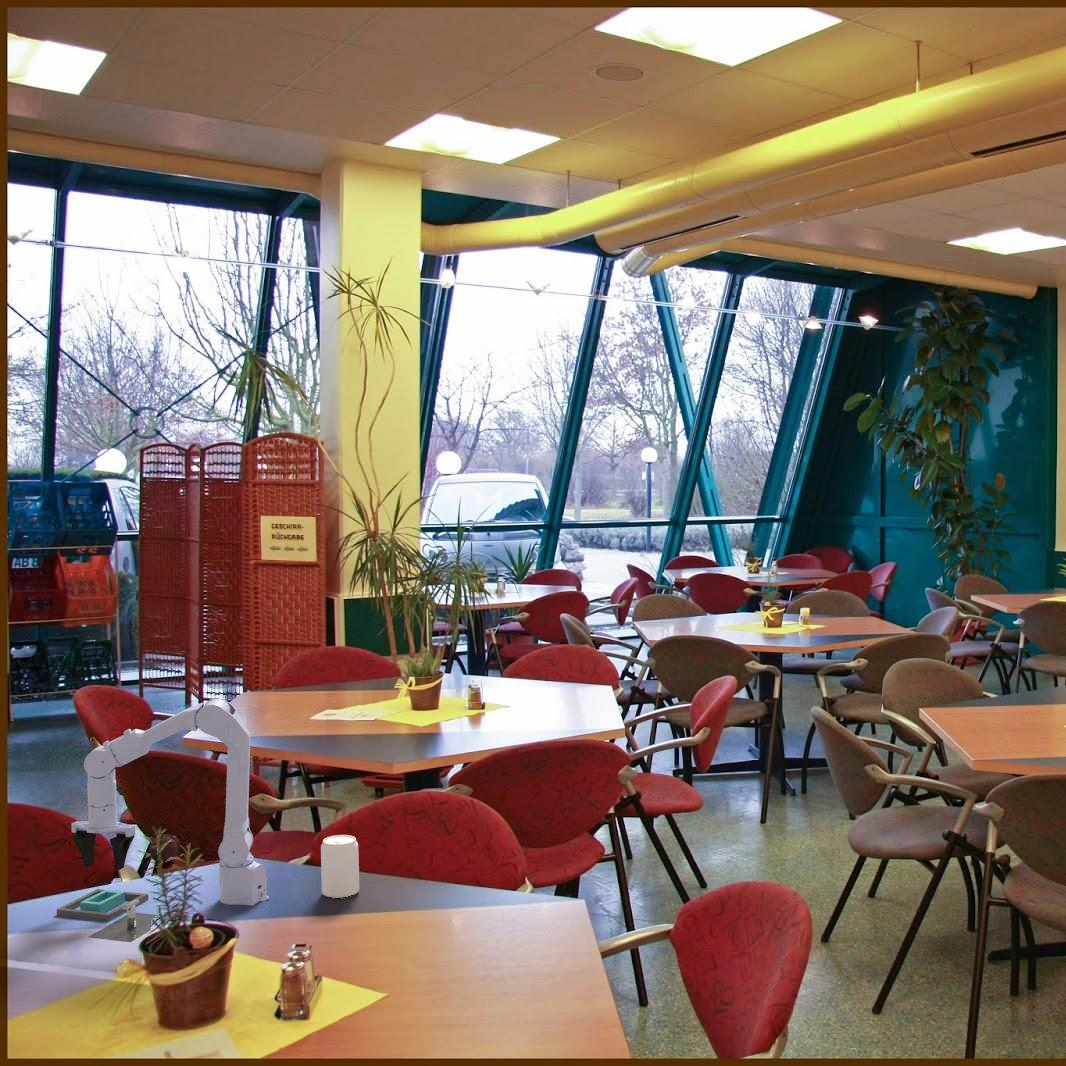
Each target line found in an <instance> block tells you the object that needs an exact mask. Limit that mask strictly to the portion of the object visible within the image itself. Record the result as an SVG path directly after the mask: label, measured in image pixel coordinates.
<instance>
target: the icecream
mask: <svg viewBox="0 0 1066 1066" xmlns="http://www.w3.org/2000/svg"><path fill="white" fill-rule="evenodd" d="M163 834H164V833H163ZM169 839H173V840H174V843H171V844H170V845H168V846H167V847H166V848H165V849H164V851H163V854H162V859H163V863H164V864H165V863H166V862H165V861H166V860H167V859H168V858H170V857H175V858H177V857H178V856H179V854H180V849H181V844H180V839H178V838H177V836H176V835H172V834H168V833H167V834H164V835H163V837H162V839H161V844H164V843H165V842H167V841H168V840H169ZM156 840H157V836H156V837H154V838H153V839H152V841H151V844H150V845H149V858H151V859H152V860H153V861H154V862H155V863H154V868H155V870H156V862H157V846H156Z"/></svg>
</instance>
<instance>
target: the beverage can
mask: <svg viewBox="0 0 1066 1066" xmlns="http://www.w3.org/2000/svg"><path fill="white" fill-rule="evenodd" d="M359 855H360V854H359V843H358V841H357V838H356V837H355V836H353V835H349V834H336V835H331V836H327V837H325V838H324V839H322V844H321V845H320V860H321V861H320V863H321V864H320V868H321V869H320V870H321V871H320V872H321V873H320V874H321V894H322V895H323V896H325V897H328V898H329V897H333V898H332V899H335V898H341V899H343V898H342V897H347V898H349V897H348V896H350V897H352V896H351V895H353V896H354V895H356V894H357V893H358V892H359V891H360V865H359V864H360V863H359V861H360V860H359Z"/></svg>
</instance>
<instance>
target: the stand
mask: <svg viewBox="0 0 1066 1066" xmlns="http://www.w3.org/2000/svg"><path fill="white" fill-rule="evenodd" d="M130 901H131V902H130ZM130 901H128V902H129V903H128V902H127V903H128V904H126V903H125V904H126V905H124V904H123V905H124V906H123V909H126V910H127V912H126V915H125V916H123V917H122V918H119V919H117V920H116V921H114V922H112V923H110V924H108V925H107V926H104V927H103V928H101V929H99V930H97V931H96V932H94V933H92V934H91V935H89V936H87V938H90V939H91V938H93V939H99V940H111V941H119V942H126V943H132V942H133V941H136V940H137V939H139V938H140V937H142V936H144V935H145V934H147V933H149V932H150V931H151V930H150V929H151V927H152V926H151V920H152V919H153V918H158V915H159V914H153V913H152V914H151V913H145V912H144V913H143V912H142V913H141V912H136V907H135V905H136V904H138V903H139V900H133V901H132V900H130ZM155 916H157V917H155Z"/></svg>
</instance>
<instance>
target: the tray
mask: <svg viewBox="0 0 1066 1066" xmlns="http://www.w3.org/2000/svg"><path fill="white" fill-rule="evenodd" d="M104 890H105V889H102V888H97V889H95V890H93V891H91V892H89V893H86V894H85V895H83V896H81V897H78V898H76V899H75V900H72V901H70V902H69V903H67V904H65V905H63V906H60V907H59V908H57V909H56V911H55V912H56V916H58V917H68V918H78V919H86V920H94V921H96V920H97V921H105V922H110V921H112V920H114V919H116V918H118V917H120V916H121V915H123V914H125V913H127V910H126V909H123V906H124V905H126V904H128V903H129V902H131V901H133V900H139V903H138V904H136V905H135V908H136V907H138V906H141V904H144V903H146V902H147V901H149V893H141V892H134V891H133V892H131V891H122V890H121V892H125V900H128V902H125V903H123V904H121V906H120V905H119V906H117V907H116V908H114V909H112V910H110V911H108V912H106V913H104V912H94V911H85V910H80V909H78V908H79V907H80V902H82V901H84V900H86V899H88V898H90V897H92V896H94V895H96V894H98V893H100V892H102V891H104ZM112 891H114V890H113V889H112ZM129 900H130V901H129Z"/></svg>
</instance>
